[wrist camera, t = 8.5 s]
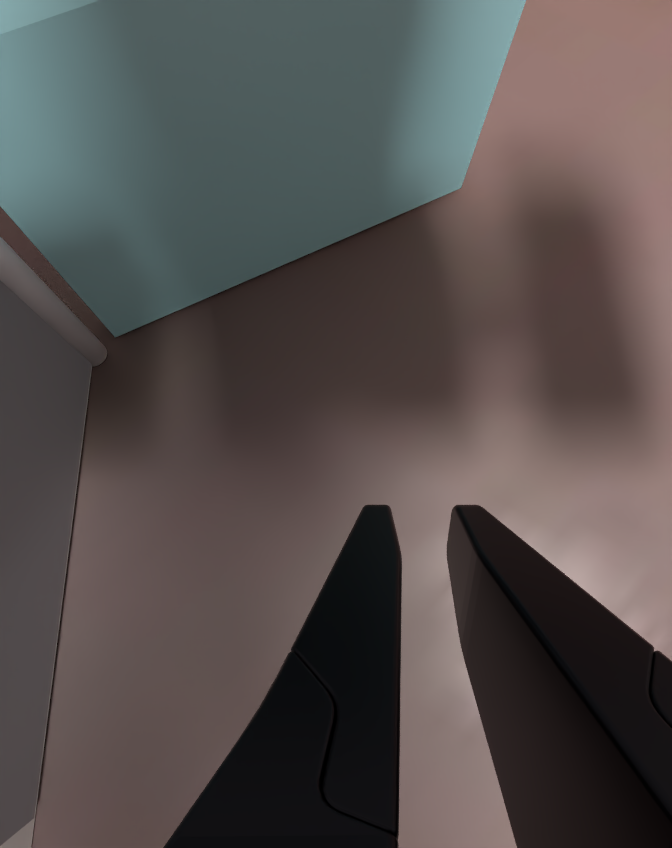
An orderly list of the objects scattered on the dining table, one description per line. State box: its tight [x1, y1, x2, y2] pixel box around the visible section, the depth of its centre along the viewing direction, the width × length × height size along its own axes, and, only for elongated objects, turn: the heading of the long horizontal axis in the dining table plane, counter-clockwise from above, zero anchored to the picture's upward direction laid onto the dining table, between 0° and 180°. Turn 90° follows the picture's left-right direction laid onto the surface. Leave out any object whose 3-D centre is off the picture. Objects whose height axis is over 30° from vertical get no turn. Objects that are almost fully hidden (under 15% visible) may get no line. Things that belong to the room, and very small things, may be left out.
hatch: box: [0, 0, 526, 337], centre depth 13 cm, size 12×2×9 cm, turn 117°
